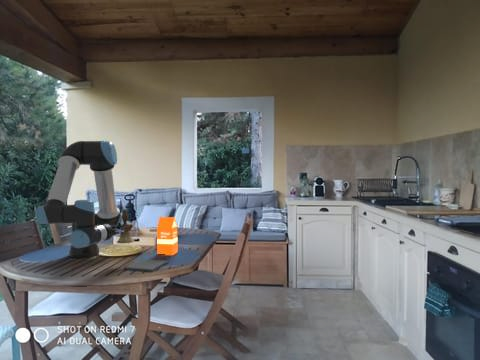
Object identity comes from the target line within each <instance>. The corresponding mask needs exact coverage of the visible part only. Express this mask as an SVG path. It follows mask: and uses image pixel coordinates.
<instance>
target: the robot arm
mask: <svg viewBox="0 0 480 360" xmlns="http://www.w3.org/2000/svg"><path fill="white" fill-rule="evenodd" d="M117 163H118V155H117V149H116V146H115V144H114V142H112V141H108V140H80V141H79V140H78V141H75V142H73V143H71V144H69V145H68V146H67V147H66V148H64V150H63V151H62V152H61V153H60V155H59V156H58V160H57V165H58V167H57V170H56V174H55V176H54V179H53V182H52V185H51V188H50V190H49V193H48V196H47V199H46V201H45V205H44V204H43V205H38V207H36V209H35V213H34V214H35V220H36V222H37V223H38V224H40V225H54V224H55V225H56V224H71V232H70V233H71V234H70V235H69V243H70V248H69V251H68V257H70V258H74V259H80V258H83V259H84V258H89V257H94V256H98V255H99V254H100V248H99V246H98V244H99V243H102V242H105V241H109V240H111V239H112V237H113V236H115V235H120V234H124V233H125V232H127V231H130V232H131V231H132V229H135V228H136V223H135V222H134V221H133V222H131V221H127V224H126V225H123V220H122V213H123V212H121V211H120V210H121V209H119V208H118V207H117V202H116V201H117V200H116V193H115V186H114V185H115V184H114V177H113V169H114V168H115V165H117ZM87 165H88V166H89V169H90V170H91V171H92V172H93V175H94V181H95V188H96V195H97V201H98V211H96V212H95V202H94V200H92V199H77V200H75V201H74V203H73V204H67V201H68V198H69V195H70V192H71V188H72V185H73V182H74V178H75V175H76V171H78V170H79V168H80V166H87ZM98 253H99V254H98Z"/></svg>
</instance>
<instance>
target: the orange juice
mask: <svg viewBox="0 0 480 360" xmlns="http://www.w3.org/2000/svg"><path fill="white" fill-rule="evenodd" d="M178 241H179V240H178V224H177V222H176V218H175V217H174V216H172V217H171V216H160V217H159V219H158V222H157V228H156V244H157V245H156V247H157V249H156V250H157V254H165V255H164V256H174V255H175V254H177V253H178V250H179V249H178V246H179V245H178Z"/></svg>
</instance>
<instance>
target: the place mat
mask: <svg viewBox="0 0 480 360" xmlns="http://www.w3.org/2000/svg"><path fill="white" fill-rule="evenodd" d="M166 263H167V264H168V263H169V260H161V259H147V258H140V259H138V260H136V261H134V262H132V263H130V264H128V265H126V266H124V267H123V270H127V271H128V270H131V271H142V272H152V273H153V272H154V271H157V270H158V269H159V268H162V267H164V266H165V265H167V264H166ZM164 264H165V265H164ZM163 265H164V266H163ZM161 266H162V267H161Z"/></svg>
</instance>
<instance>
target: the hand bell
mask: <svg viewBox="0 0 480 360" xmlns="http://www.w3.org/2000/svg"><path fill="white" fill-rule="evenodd" d="M121 213H122V220H123V225H126V224H127V222H128V212H127V209H122V212H121ZM134 242H135V239H134V238H133V237H132V234H131V230H130V231H127V232H125V233H124V234H121V233H120V234H119V238H118V240H117V241H116V243H117V244H120V245H121V244H131V243H134Z"/></svg>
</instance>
